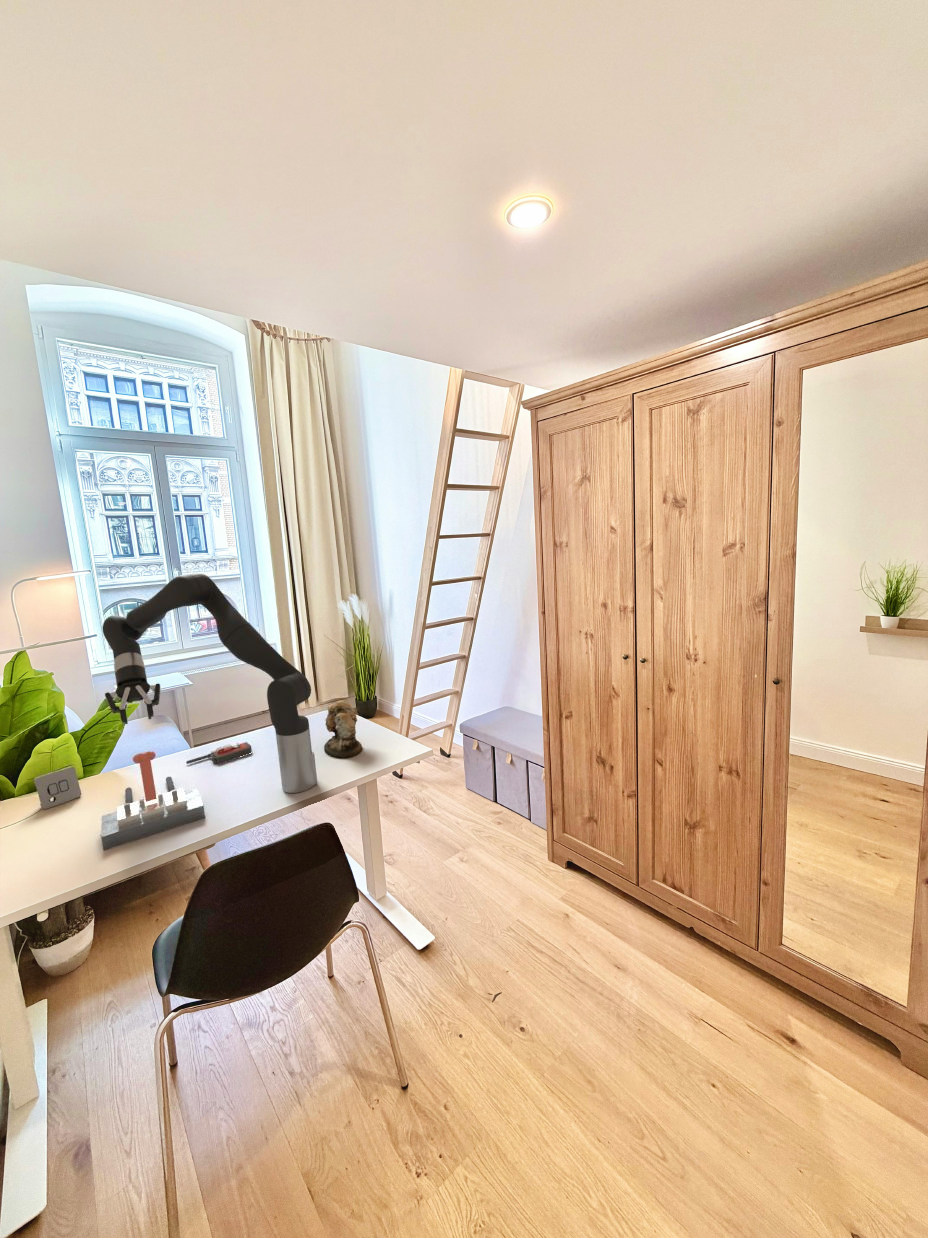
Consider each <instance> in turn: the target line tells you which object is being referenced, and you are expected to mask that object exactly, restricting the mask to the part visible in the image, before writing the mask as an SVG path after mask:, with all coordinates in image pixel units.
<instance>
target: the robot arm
mask: <svg viewBox="0 0 928 1238" xmlns="http://www.w3.org/2000/svg"><path fill="white" fill-rule="evenodd" d="M197 605H201V606H202V607H204V608H205V610H207V611H208V612H209V614H210V615H212V617H213V619H214V621H215V623H216V630H217V634H218V638H219V640H220V642H221V643H222V645H223V646H224V647H225V648H226V649H227V650H228V651H229V652H230V653H231V654H232V655H233V656H234V657H235V658H237V659H238V660H239V661H241V662H243V663H245V664H247V665H249V666H252V667H254V668H257V670H258V669H259V670H260V671H262V672H264V673H266V674H267V675H268V676H270V677H271V679H272V681H271V682H270V683H269V685H268V686H267V690H266V699H267V706H268V711H269V712H268V713H269V716H270V721H271V724H272V726H273V728H274V729H275V736H276V737H275V738H276V746H277V754H278V763H279V765H278V766H279V770H280V771H279V772H280V773H279V774H280V780H281V787H282V791H283V792H285V793H287V794H295V793H296V794H297V793H302V792H305V791H308V790H309V789H311V788H313V787H314V786H316V785H318V775H317V765H316V756H315V753H314V752H313V750H312V741H311V740H312V739H311V730H310V723H309V721H310V720H309V719H308V717H307V716H305V715H299V710H298V705H301V704H302V703H304V702H306V701H308V699H309V698H310V697H311V694H312V687H311V686H312V685H311V684H310V682H309V680H308V678H307V677H306V676H305V675H304V674H303V673H302V672H301V671H300V670H298V668H296V667H295V666H293V665H292V664H291V663H290V662H288V660H287V659H285V657H283V656H282V655H281V654H280V653H279V652H278V651H277V650H276V649H275V648H274V647H273V646H272V645H271V644H270V643H269V642H267V641H266V639H265V638H264V637H263V636H262V635H261V633H260V632H258V630H257V629H256V628H255V627H254V626H253V625H252V624H251V623H250V622H249V621H247V619H246V618H244V616H243V615H241V613H240V612H239V611H238V610H237V609H236V608H235V606H234V605H232V603H231V602H230V601H229V600H228V599H227V597H226V596H225V595H224V593H223V592H222V590H221V589H220V588H219V587H218V585H217V584H216V583H215V582H214V581H213V580H212V578H211V577H209V576H208V575H206V574H205V573H200V572H199V573H197V572H196V573H188V574H181V575H177V576H175V577H174V578H172V579H171V580H170V581H169V582H168V583H166V585H164V586H163V588H162V589H160V590H159V591H158V592H157V593H156V594H155V595H153V596H152V597H151V598H149V599H148V600H146V601H145V602H142V603H141V604H140V605H138V606H136V607H134V608H132V609H131V610H130V611H128V613H127V614H126V617H125V616H120V615H116V614H113V615H110V616H108V617H107V618H106V619H105V620H104V621H103V624H102V633H103V636H104V639H105V641H107V644H108V645H109V647H110V649H111V650H112V654H113V655H112V656H113V661H114V663H113V664H114V665H113V668H114V675H115V681H116V690H115V691H112V692H108V691H107V692H105V693H104V697H105V700H106V702H107V704H108V706H109V708H110V710H111V713H112V714H116V713H117V714H119V715H120V716H119V717H120V720H121V723H122V724H123V723H124V725H128V724H129V723H128V716H127V708H128V707H129V704H131V703H133V702H139V701H141V702H142V703H143V704H144V705H145V706H146V712H147V718H148V720H152V717H154V715H155V713H154V709H153V707H154V706H158V705H159V704H160V698H161V697H160V696H161V684H160V683H156V684H154V685H153V684H149V682H148V678H147V674H146V673H147V672H146V667H145V662H144V660H143V659H144V658H143V655H142V651H141V647H140V643H139V642H138V640H140V639H141V637H142V636H143V635H144V633H145V632H146V631H147V630H148V629H150V628H151V627H152V626H154V625H156V624H158V623H159V622H161V621H162V620H164V618H165V617H166V615H167V613H169V612H170V611H173V610H176V609H180V608H183V607H191V606H197ZM150 690H151V692H152V693H153V694H154V695H153V699H151V698H150V697H149V696H148V693H149V692H150ZM116 697H118V698H119V699H121V702H120V704H119V706H117V705H116V703H115V701H116Z"/></svg>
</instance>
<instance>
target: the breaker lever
mask: <svg viewBox="0 0 928 1238" xmlns="http://www.w3.org/2000/svg"><path fill="white" fill-rule="evenodd" d="M155 758H156V752H155V751H153V750H149V751H146V752H141V753H136V754H135V755H134V756H132V761H133V763H135V764H139V768H140V769H139V770H140V774H141V780H142V785H143V791H144V792H143V793H144V799H146V802H148V801H152V800H155V799H157V797H156V796H157V791H156V785H155V780H154V773H153V766H152V761H153V760H154V759H155Z"/></svg>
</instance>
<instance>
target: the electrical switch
mask: <svg viewBox="0 0 928 1238" xmlns="http://www.w3.org/2000/svg"><path fill="white" fill-rule="evenodd" d="M33 782H34V785H35V787H36V792H37V795H38V798H39V799H38V800H39V802H40V809H41V810H48V809H50V808H52V807H53V808H54V807H56V806H58V805H60V804H63V803H66V802H70V801H72V800H74V799H78V798H80V797H81V796H82V790H81V787H80V782H79V778H78V775H77V771H76V768H75V767H74V766H68V767H65V768H63V769H59V770H56V771H52V772H49V773H45V774H43V775H39V776H37V777H34V779H33ZM51 799H53V800H52V801H51Z"/></svg>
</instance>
